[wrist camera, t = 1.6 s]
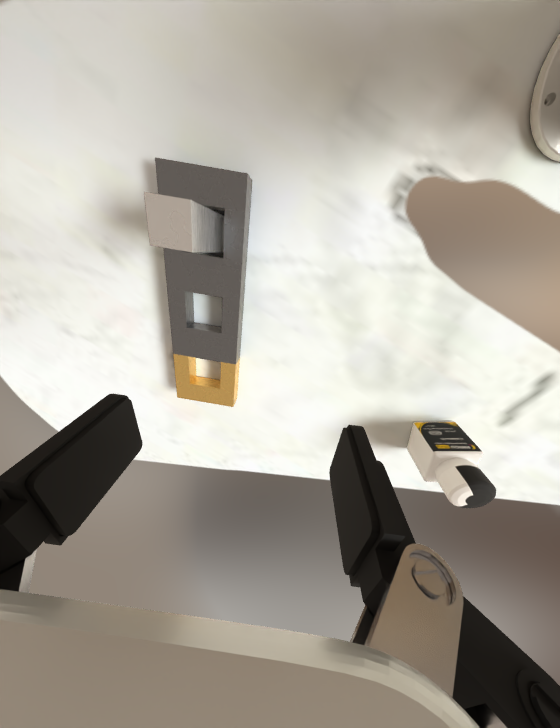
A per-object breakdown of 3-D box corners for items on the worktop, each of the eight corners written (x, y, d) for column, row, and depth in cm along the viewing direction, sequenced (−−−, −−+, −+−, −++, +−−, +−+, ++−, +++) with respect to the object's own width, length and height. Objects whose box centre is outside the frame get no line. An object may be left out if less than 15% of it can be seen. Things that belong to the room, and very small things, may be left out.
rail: (167, 166, 25) (155, 157, 23) (252, 180, 25) (247, 173, 23) (184, 389, 40) (177, 397, 38) (236, 398, 40) (233, 406, 38)
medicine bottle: (455, 420, 39) (514, 484, 28) (444, 448, 42) (493, 515, 31) (413, 421, 39) (455, 483, 29) (405, 448, 43) (441, 513, 32)
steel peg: (194, 211, 27) (143, 191, 18) (225, 216, 27) (190, 199, 18) (195, 247, 29) (150, 245, 20) (224, 252, 29) (192, 252, 20)
